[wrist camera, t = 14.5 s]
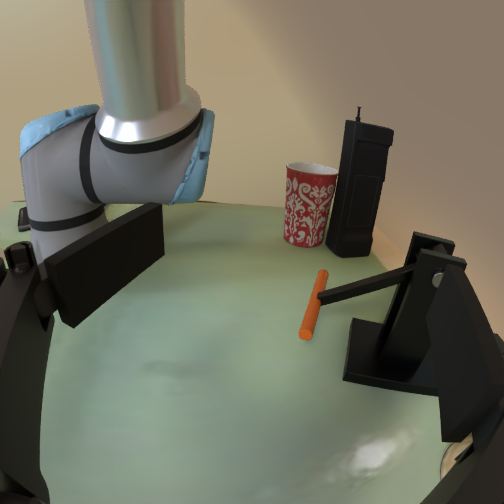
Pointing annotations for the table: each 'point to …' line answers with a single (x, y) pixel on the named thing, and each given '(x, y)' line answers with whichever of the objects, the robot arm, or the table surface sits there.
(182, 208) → the table surface
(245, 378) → the table surface
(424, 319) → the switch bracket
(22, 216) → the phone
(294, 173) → the mug
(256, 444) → the table surface
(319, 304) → the switch lever
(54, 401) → the table surface
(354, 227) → the portable radio
